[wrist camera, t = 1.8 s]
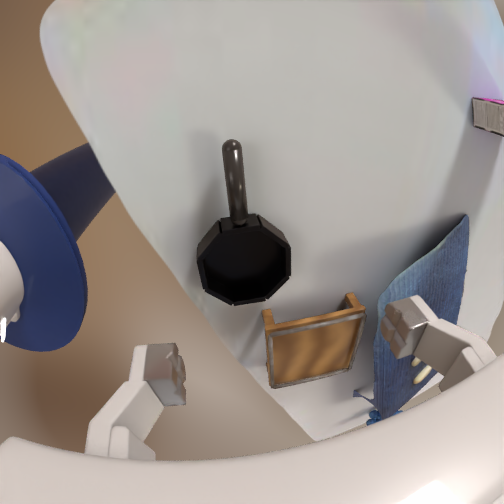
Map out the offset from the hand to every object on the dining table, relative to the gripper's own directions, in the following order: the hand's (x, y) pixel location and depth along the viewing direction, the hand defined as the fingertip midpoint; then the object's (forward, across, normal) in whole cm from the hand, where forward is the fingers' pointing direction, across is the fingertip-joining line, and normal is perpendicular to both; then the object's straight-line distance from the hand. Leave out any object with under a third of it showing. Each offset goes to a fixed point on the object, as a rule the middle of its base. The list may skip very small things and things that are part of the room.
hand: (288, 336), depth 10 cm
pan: (+21, 0, +5) cm, 22 cm away
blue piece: (+22, -31, +32) cm, 50 cm away
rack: (+21, -9, +25) cm, 34 cm away
